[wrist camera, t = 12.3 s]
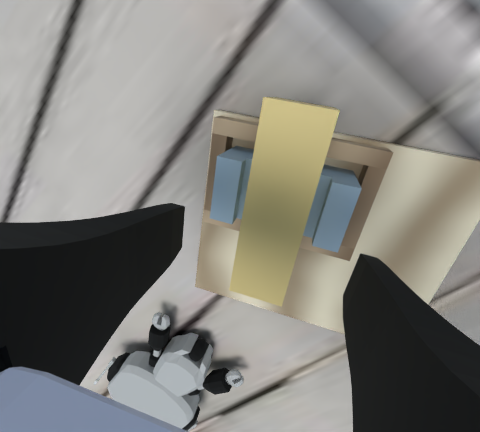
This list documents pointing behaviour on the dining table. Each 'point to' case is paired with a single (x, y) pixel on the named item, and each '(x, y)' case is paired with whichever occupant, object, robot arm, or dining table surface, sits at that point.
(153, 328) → the robot toy
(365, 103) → the dining table surface
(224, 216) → the blue notched block
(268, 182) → the yellow rectangular block
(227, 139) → the jig
